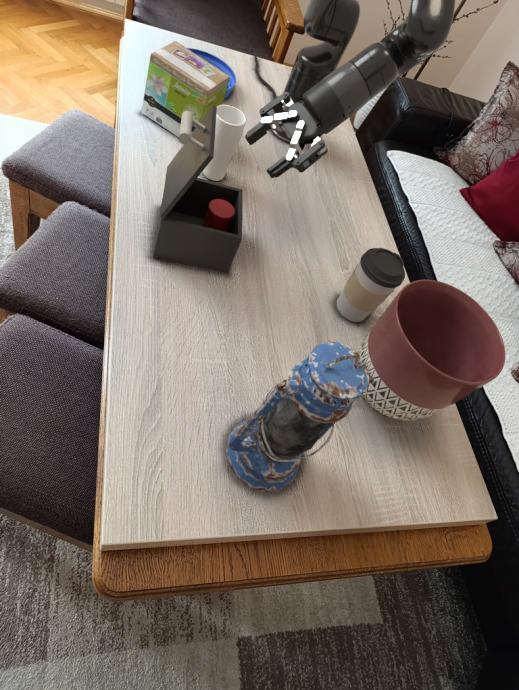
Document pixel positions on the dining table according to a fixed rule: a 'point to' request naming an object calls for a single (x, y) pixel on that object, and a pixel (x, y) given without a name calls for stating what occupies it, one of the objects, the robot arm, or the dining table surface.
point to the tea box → (181, 86)
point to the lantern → (296, 416)
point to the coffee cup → (370, 283)
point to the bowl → (220, 65)
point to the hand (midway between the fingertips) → (258, 157)
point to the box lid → (189, 157)
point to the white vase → (225, 140)
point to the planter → (429, 351)
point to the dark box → (200, 229)
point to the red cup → (219, 215)
